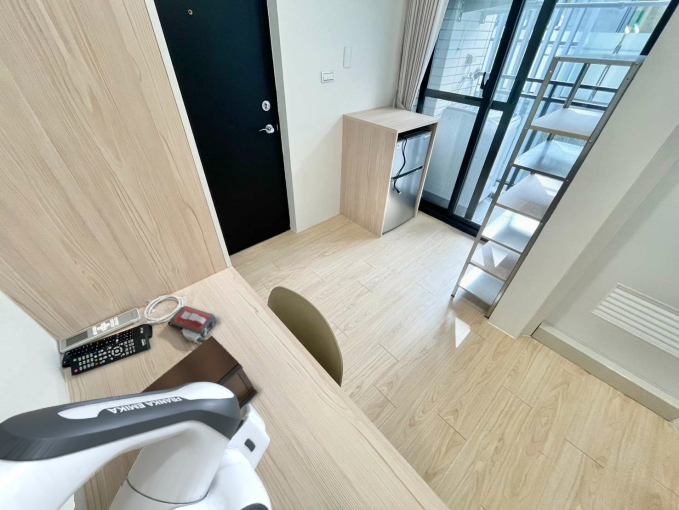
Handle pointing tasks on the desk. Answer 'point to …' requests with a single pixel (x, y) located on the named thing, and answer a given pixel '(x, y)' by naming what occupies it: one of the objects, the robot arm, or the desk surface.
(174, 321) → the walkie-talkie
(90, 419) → the robot arm
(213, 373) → the cupboard
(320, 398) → the desk surface
